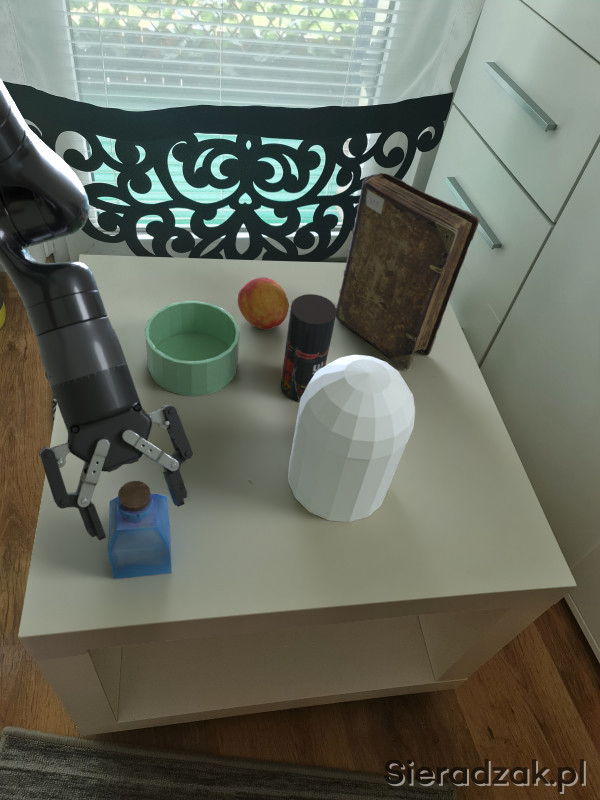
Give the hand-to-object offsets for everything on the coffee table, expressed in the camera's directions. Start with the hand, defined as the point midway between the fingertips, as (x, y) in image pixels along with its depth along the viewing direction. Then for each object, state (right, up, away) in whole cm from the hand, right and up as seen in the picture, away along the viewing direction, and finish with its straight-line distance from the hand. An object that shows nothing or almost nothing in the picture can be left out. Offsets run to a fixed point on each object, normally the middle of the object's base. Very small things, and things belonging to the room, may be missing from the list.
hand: (141, 520), depth 63 cm
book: (+29, +23, +37) cm, 53 cm away
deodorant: (+16, +14, +27) cm, 35 cm away
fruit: (+10, +25, +36) cm, 45 cm away
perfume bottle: (-2, -5, +7) cm, 9 cm away
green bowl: (0, +18, +28) cm, 33 cm away
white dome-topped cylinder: (+21, +2, +17) cm, 28 cm away
